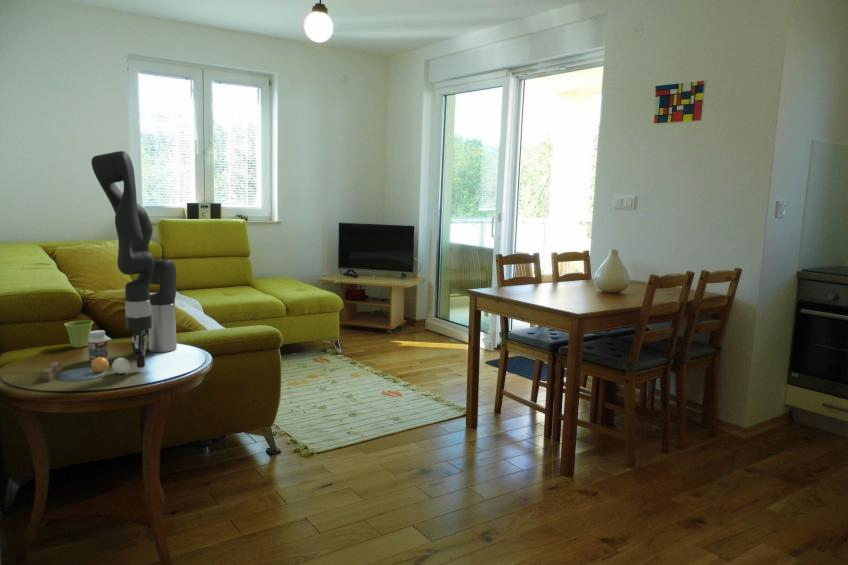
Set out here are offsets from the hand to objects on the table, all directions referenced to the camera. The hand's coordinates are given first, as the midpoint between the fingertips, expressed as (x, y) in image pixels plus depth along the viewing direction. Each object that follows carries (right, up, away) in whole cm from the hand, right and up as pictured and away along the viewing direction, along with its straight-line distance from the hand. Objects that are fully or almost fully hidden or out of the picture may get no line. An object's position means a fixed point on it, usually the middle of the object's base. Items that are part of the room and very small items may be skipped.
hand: (141, 366), depth 198 cm
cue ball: (-5, +1, -3) cm, 6 cm away
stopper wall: (-25, -2, -7) cm, 26 cm away
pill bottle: (-20, 0, +12) cm, 23 cm away
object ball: (-12, +1, -2) cm, 12 cm away
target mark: (-17, -2, -4) cm, 17 cm away
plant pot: (-36, +3, +30) cm, 47 cm away
